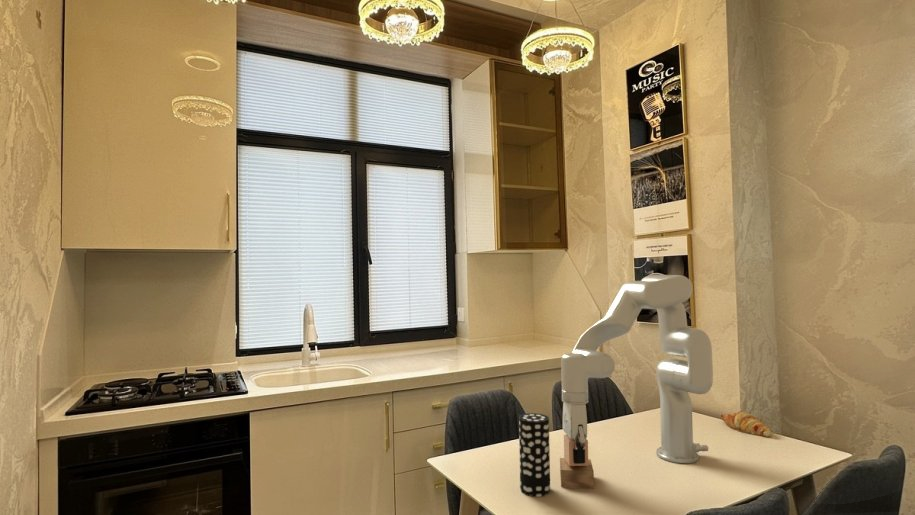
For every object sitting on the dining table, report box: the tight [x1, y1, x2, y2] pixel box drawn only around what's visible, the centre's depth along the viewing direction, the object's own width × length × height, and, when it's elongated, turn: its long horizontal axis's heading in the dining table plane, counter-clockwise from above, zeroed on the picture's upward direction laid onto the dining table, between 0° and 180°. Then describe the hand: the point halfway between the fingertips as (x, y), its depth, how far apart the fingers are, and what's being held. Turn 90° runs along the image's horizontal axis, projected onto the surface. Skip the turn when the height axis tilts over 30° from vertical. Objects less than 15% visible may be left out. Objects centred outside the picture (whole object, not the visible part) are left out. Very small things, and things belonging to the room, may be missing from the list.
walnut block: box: [559, 457, 595, 490], centre depth 140 cm, size 9×9×5 cm
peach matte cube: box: [563, 434, 589, 466], centre depth 141 cm, size 6×6×7 cm
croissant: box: [720, 410, 773, 438], centre depth 183 cm, size 21×10×8 cm, turn 21°
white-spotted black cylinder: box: [518, 412, 551, 497], centre depth 135 cm, size 8×8×20 cm
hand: (576, 458), depth 140 cm, fingers closed on peach matte cube, 5 cm apart
